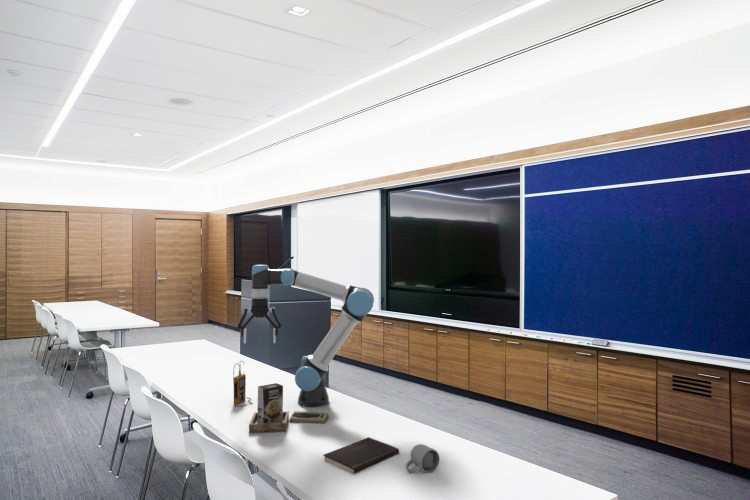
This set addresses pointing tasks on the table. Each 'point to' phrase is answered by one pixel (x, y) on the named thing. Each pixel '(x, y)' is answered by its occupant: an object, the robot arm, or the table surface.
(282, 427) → the tray
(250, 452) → the table surface
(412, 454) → the ceramic mug
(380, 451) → the hardcover book
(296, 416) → the computer
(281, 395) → the coffee box
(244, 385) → the multimeter
